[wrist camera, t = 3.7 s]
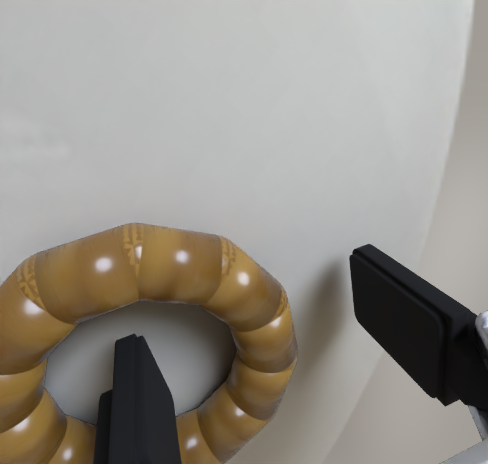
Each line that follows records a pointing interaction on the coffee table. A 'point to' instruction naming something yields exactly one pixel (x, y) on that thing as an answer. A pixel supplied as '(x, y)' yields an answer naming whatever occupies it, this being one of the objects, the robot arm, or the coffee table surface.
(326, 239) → the coffee table surface
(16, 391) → the ring
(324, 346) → the coffee table surface
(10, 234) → the coffee table surface
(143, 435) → the robot arm
